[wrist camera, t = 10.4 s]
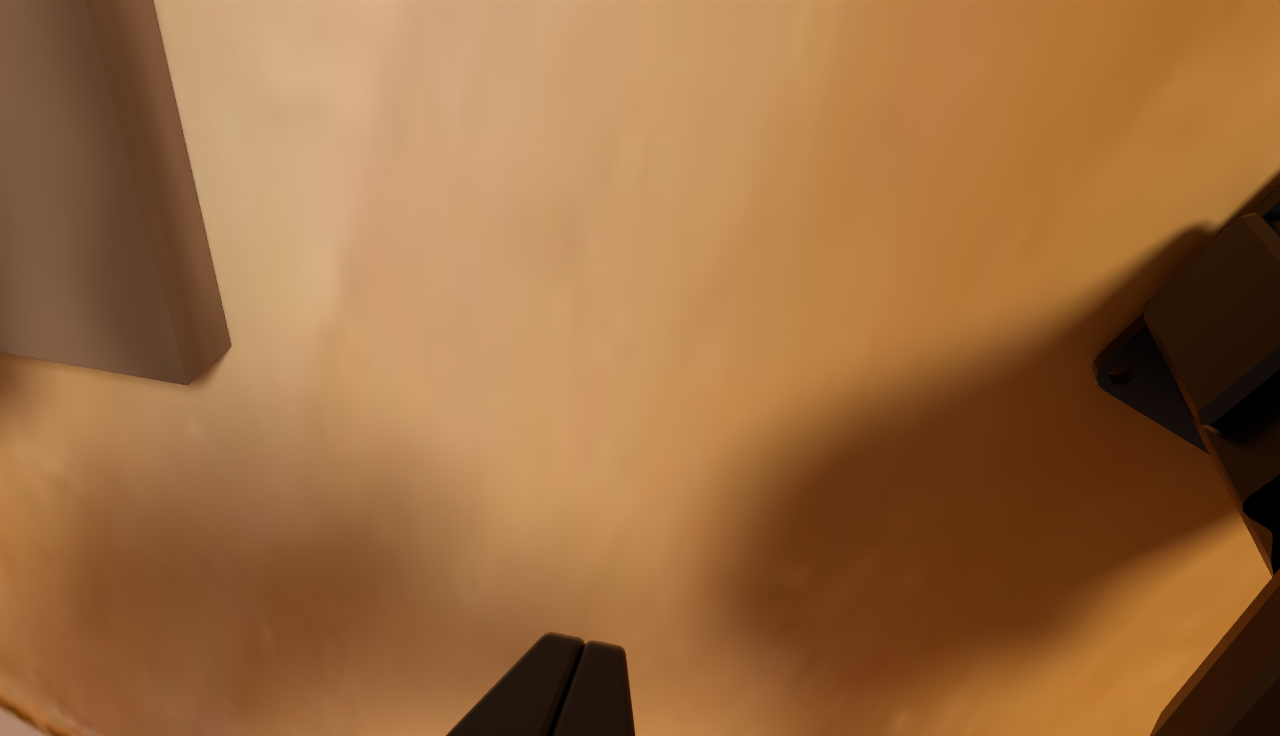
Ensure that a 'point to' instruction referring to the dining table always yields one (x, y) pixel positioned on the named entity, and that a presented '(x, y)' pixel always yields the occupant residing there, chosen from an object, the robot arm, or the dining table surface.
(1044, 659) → the dining table surface
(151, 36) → the base
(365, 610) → the dining table surface
